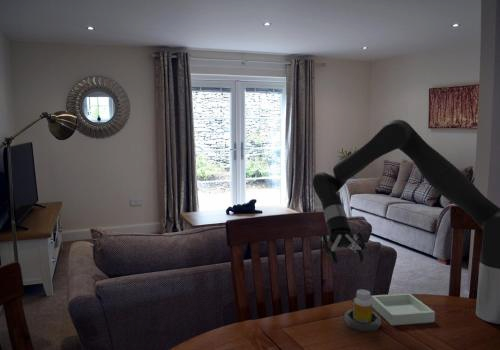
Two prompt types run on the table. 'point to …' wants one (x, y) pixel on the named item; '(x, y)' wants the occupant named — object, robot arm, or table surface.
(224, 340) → the table surface
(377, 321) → the holder ring
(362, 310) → the supplement bottle
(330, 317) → the table surface
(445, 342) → the table surface
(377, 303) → the tray
